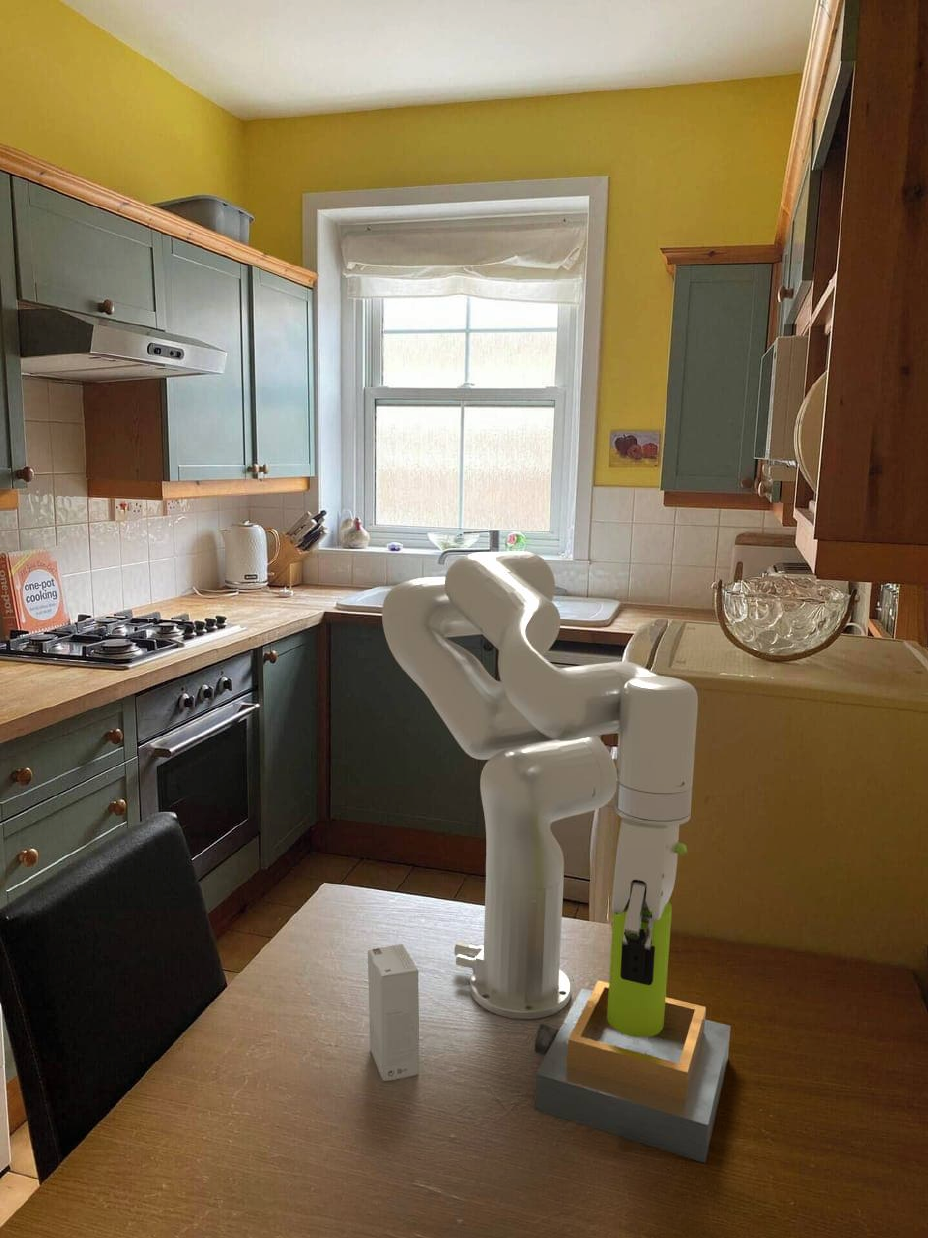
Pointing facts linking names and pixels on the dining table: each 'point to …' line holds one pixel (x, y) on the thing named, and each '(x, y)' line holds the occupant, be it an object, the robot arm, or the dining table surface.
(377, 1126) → the dining table surface
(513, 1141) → the dining table surface
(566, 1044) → the bottle holder tray
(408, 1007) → the skincare box
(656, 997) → the green pump bottle
